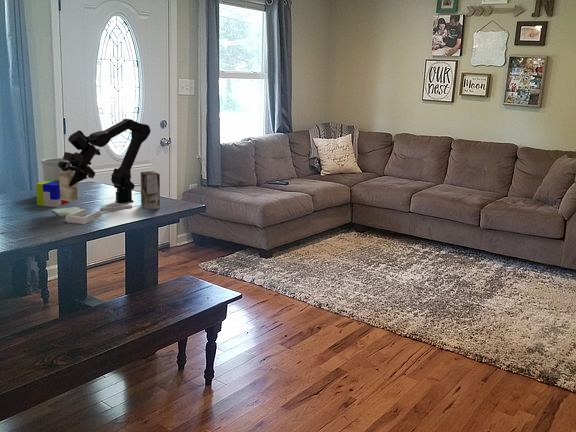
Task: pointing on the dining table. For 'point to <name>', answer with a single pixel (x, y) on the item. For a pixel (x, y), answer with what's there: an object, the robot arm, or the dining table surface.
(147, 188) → the coffee box
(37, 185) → the puzzle toy
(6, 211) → the dining table surface
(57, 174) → the utensil holder
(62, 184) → the block
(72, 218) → the channel
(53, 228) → the dining table surface
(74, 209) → the mat
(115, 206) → the rod
